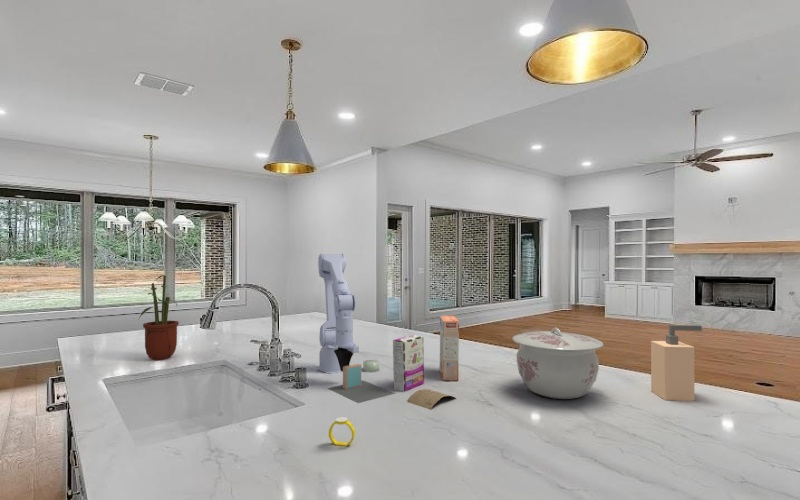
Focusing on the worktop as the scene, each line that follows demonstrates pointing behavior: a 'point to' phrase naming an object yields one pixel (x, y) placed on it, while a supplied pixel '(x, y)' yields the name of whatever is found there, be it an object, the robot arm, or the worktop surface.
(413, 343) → the candy bar box
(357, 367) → the tile
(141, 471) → the worktop surface
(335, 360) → the robot arm
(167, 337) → the potted plant
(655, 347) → the soap dispenser
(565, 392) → the chamber pot
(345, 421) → the watch
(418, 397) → the clay tablet
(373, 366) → the pale green dome
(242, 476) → the worktop surface
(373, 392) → the mat
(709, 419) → the worktop surface
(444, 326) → the cracker box
